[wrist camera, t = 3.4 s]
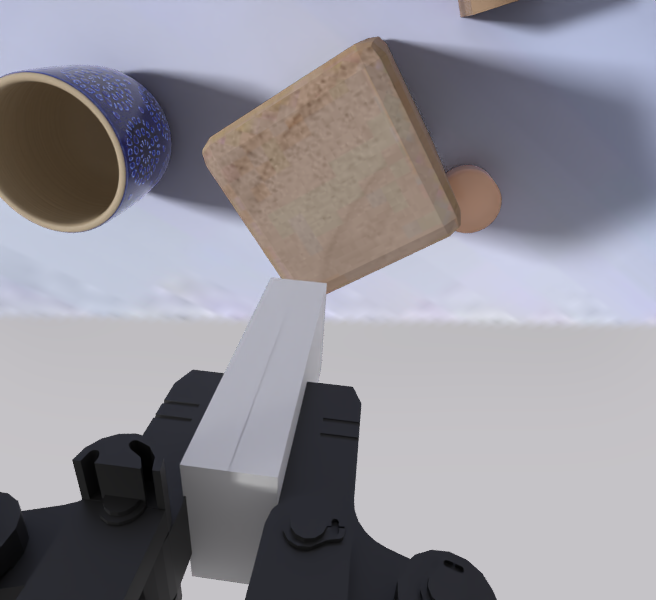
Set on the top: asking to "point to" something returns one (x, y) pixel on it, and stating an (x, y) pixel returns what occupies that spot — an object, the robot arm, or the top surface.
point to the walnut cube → (479, 6)
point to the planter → (78, 145)
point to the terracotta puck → (474, 197)
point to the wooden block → (337, 171)
